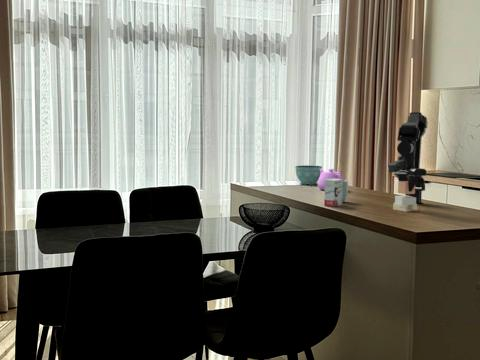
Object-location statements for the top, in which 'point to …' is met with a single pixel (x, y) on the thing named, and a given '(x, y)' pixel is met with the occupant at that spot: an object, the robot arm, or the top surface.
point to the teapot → (327, 177)
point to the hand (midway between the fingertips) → (406, 190)
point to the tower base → (404, 207)
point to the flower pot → (308, 174)
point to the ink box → (333, 192)
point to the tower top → (405, 200)
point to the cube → (404, 188)
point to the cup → (344, 190)
